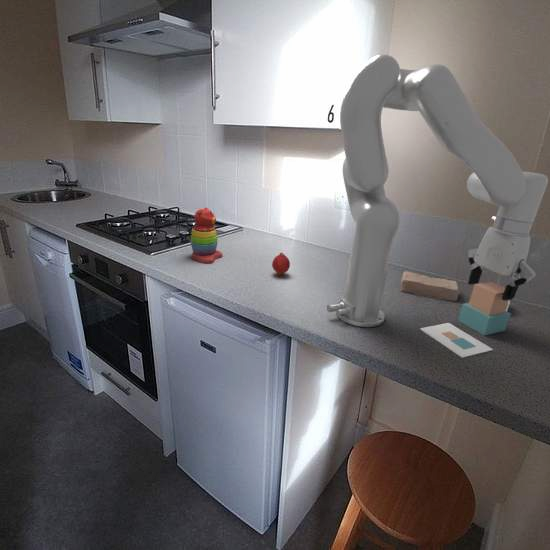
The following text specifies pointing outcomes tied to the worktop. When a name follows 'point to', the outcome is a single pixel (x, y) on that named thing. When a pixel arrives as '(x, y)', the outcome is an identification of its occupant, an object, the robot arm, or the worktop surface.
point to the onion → (281, 264)
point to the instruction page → (456, 340)
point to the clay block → (488, 298)
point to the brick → (429, 286)
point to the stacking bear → (204, 237)
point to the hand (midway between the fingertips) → (489, 291)
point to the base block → (483, 320)
